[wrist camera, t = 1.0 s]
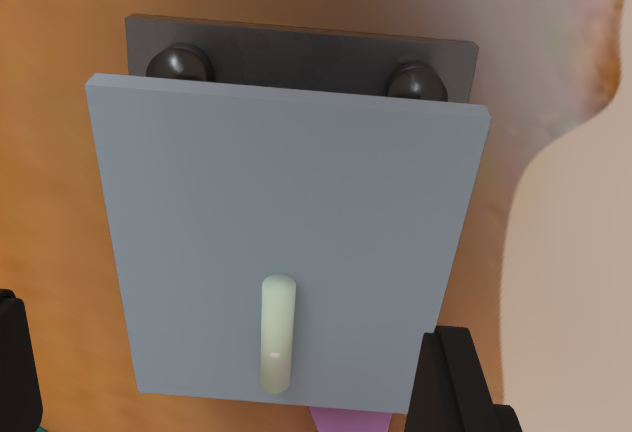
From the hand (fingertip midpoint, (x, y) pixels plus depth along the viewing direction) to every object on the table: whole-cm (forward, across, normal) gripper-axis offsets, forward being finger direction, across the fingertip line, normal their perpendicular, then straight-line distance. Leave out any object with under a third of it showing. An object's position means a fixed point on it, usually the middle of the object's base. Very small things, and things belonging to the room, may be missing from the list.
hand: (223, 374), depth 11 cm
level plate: (+17, 0, +8) cm, 19 cm away
